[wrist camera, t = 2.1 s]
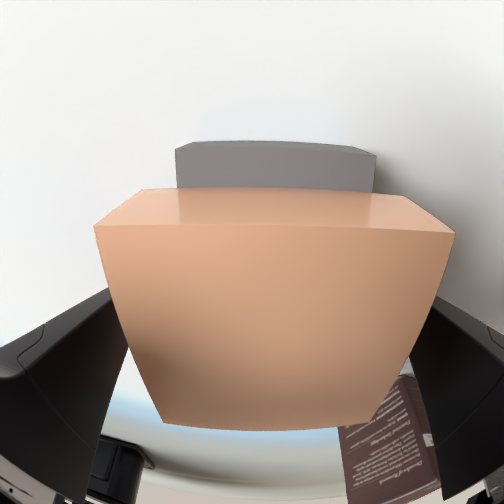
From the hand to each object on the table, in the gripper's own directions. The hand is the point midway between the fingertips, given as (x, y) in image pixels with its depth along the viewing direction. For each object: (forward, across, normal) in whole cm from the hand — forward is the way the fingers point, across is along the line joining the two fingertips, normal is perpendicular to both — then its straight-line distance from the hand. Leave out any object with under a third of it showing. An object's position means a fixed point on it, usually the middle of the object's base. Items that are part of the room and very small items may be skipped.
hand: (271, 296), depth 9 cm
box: (+2, -9, +11) cm, 14 cm away
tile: (0, 0, 0) cm, 0 cm away
